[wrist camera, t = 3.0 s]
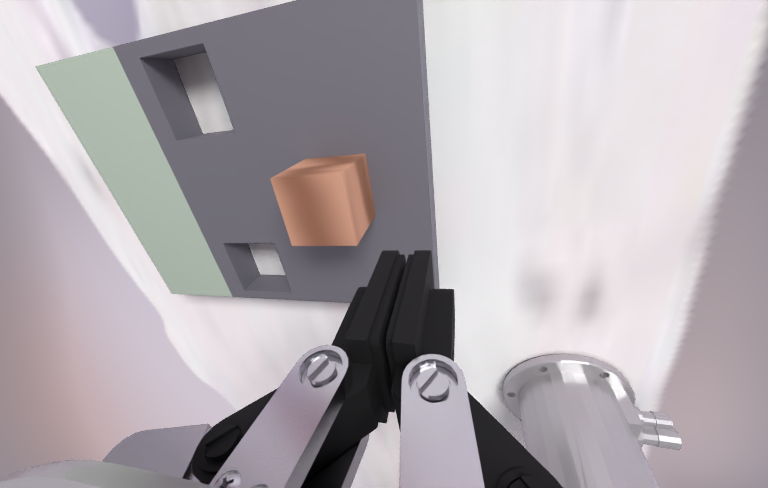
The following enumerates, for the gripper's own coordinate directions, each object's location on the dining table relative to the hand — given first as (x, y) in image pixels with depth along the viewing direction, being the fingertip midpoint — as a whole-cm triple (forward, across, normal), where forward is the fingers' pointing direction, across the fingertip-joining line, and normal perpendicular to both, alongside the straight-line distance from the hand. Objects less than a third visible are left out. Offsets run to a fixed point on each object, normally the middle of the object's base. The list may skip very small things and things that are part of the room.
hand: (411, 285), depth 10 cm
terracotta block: (+13, +8, +1) cm, 15 cm away
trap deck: (+16, +17, +1) cm, 23 cm away
